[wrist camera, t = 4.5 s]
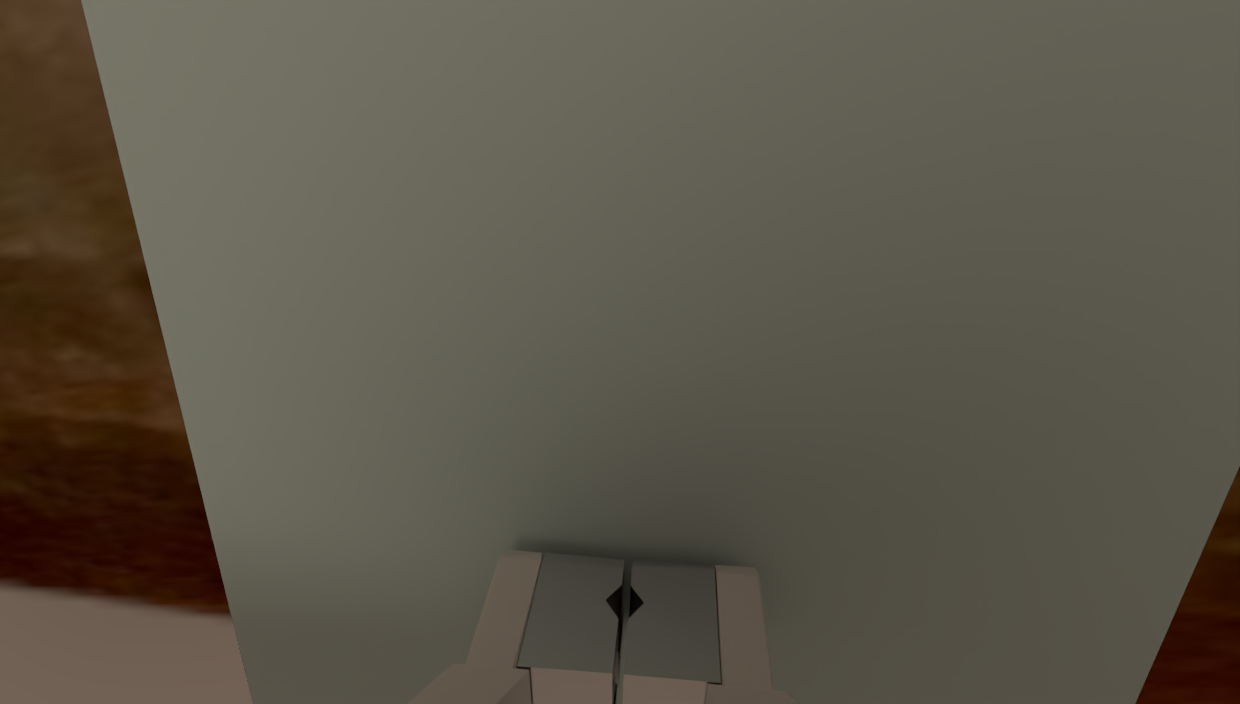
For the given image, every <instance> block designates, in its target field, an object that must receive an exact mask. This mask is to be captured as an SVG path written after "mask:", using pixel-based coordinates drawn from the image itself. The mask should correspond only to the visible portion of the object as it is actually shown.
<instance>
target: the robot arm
mask: <svg viewBox="0 0 1240 704" xmlns="http://www.w3.org/2000/svg"><path fill="white" fill-rule="evenodd" d="M624 585H625V560H620V559H610V558H599V557H589V556H579V555H569V554H558V553H548V552H546V553H540V552H529V551H519V550H509V549H505V550H504V552H503V553H502V555H501V556H500V558H499V559H498V562H497V566H496V569H495V572H494V575H493V578H492V581H491V584H490V588H489V591H488V594H487V597H486V600H485V603H484V606H483V610H482V613H481V616H480V619H479V622H478V625H477V629H476V632H475V635H474V638H473V641H472V644H471V647H470V651H469V654H468V657H467V660H466V663H465V664H457V663H452V664H451V665H450V666H449V667H448V668H447V669H445V670H444V671H443V672H442V673H441V674H440V675H439V676H438V677H436V678H435V679H434V680H433V681H432V682H431V683H430V684H429V685H427V686H426V687H425V688H424V689H423V690H422V691H421V692H420V693H418V694H417V695H416V696H415V697H414V698H413V699H412V700H411V701H409V702H408V703H407V704H617V688H618V687H619V681H620V668H621V654H622V640H623V620H624V607H623V597H624ZM622 704H798V702H797V701H796V700H795V699H794V697H793V696H792V695H791V694H790V692H789V691H784V690H775V687H774V679H773V672H772V665H771V657H770V650H769V642H768V635H767V628H766V620H765V613H764V605H763V598H762V591H761V583H760V576H759V573H758V571H757V570H756V568H755V567H741V566H725V565H714V567H713V565H710V564H694V563H678V562H661V561H645V560H633V566H632V577H631V589H630V610H629V619H628V624H627V637H626V651H625V664H624V679H623V703H622Z"/></svg>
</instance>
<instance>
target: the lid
mask: <svg viewBox="0 0 1240 704" xmlns="http://www.w3.org/2000/svg"><path fill="white" fill-rule="evenodd" d="M81 1H82V5H83V9H84V14H85V18H86V22H87V26H88V30H89V34H90V38H91V42H92V46H93V50H94V55H95V59H96V63H97V67H98V71H99V75H100V79H101V83H102V87H103V91H104V96H105V100H106V104H107V108H108V112H109V116H110V120H111V124H112V128H113V132H114V137H115V141H116V145H117V149H118V153H119V157H120V161H121V165H122V169H123V173H124V178H125V182H126V186H127V190H128V194H129V198H130V202H131V206H132V210H133V214H134V219H135V223H136V227H137V231H138V235H139V239H140V243H141V247H142V251H143V255H144V260H145V264H146V268H147V272H148V276H149V280H150V284H151V288H152V292H153V296H154V301H155V305H156V309H157V313H158V317H159V321H160V325H161V329H162V333H163V337H164V341H165V346H166V350H167V354H168V358H169V362H170V366H171V370H172V374H173V378H174V382H175V387H176V391H177V395H178V399H179V403H180V407H181V411H182V415H183V419H184V423H185V428H186V432H187V436H188V440H189V444H190V448H191V452H192V456H193V460H194V464H195V469H196V473H197V477H198V481H199V485H200V489H201V493H202V497H203V501H204V505H205V510H206V514H207V518H208V522H209V526H210V530H211V534H212V538H213V542H214V546H215V551H216V555H217V559H218V563H219V567H220V571H221V575H222V579H223V583H224V587H225V592H226V596H227V600H228V604H229V608H230V612H231V616H232V620H233V624H234V628H235V633H236V637H237V641H238V645H239V649H240V653H241V657H242V661H243V665H244V669H245V673H246V677H247V682H248V685H249V690H250V694H251V698H252V702H253V704H407V703H408V702H409V701H411V700H412V699H413V698H414V697H415V696H416V695H417V694H418V693H420V692H421V691H422V690H423V689H424V688H425V687H426V686H427V685H429V684H430V683H431V682H432V681H433V680H434V679H435V678H436V677H438V676H439V675H440V674H441V673H442V672H443V671H444V670H445V669H447V668H448V667H449V666H450V665H451V664H452V663H457V664H465V663H466V660H467V657H468V654H469V651H470V647H471V644H472V641H473V638H474V635H475V632H476V629H477V625H478V622H479V619H480V616H481V613H482V610H483V606H484V603H485V600H486V597H487V594H488V591H489V588H490V584H491V581H492V578H493V575H494V572H495V569H496V566H497V562H498V559H499V558H500V556H501V555H502V553H503V552H504V550H505V549H509V550H519V551H529V552H540V553H546V552H548V553H558V554H569V555H579V556H589V557H599V558H610V559H620V560H625V585H624V597H623V607H624V620H623V640H622V654H621V668H620V681H619V687H618V688H617V704H622V703H623V679H624V664H625V651H626V637H627V624H628V619H629V610H630V589H631V577H632V566H633V560H645V561H661V562H678V563H694V564H710V565H713V567H714V565H725V566H741V567H755V568H756V570H757V571H758V573H759V576H760V583H761V591H762V598H763V605H764V613H765V620H766V628H767V635H768V642H769V650H770V657H771V665H772V672H773V679H774V687H775V690H784V691H789V692H790V694H791V695H792V696H793V697H794V699H795V700H796V701H797V702H798V704H1135V703H1136V700H1137V698H1138V696H1139V694H1140V691H1141V689H1142V687H1143V685H1144V682H1145V680H1146V678H1147V675H1148V673H1149V671H1150V669H1151V666H1152V664H1153V662H1154V660H1155V657H1156V655H1157V653H1158V650H1159V648H1160V646H1161V644H1162V641H1163V639H1164V637H1165V635H1166V632H1167V630H1168V628H1169V625H1170V623H1171V621H1172V619H1173V616H1174V614H1175V612H1176V610H1177V607H1178V605H1179V603H1180V600H1181V598H1182V596H1183V594H1184V591H1185V589H1186V587H1187V585H1188V582H1189V580H1190V578H1191V575H1192V573H1193V571H1194V569H1195V566H1196V564H1197V562H1198V560H1199V557H1200V555H1201V553H1202V550H1203V548H1204V546H1205V544H1206V541H1207V539H1208V537H1209V535H1210V532H1211V530H1212V528H1213V525H1214V523H1215V521H1216V519H1217V516H1218V514H1219V512H1220V510H1221V507H1222V505H1223V503H1224V500H1225V498H1226V496H1227V494H1228V491H1229V489H1230V487H1231V485H1232V482H1233V480H1234V478H1235V476H1236V473H1237V471H1238V469H1239V466H1240V0H81Z"/></svg>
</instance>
